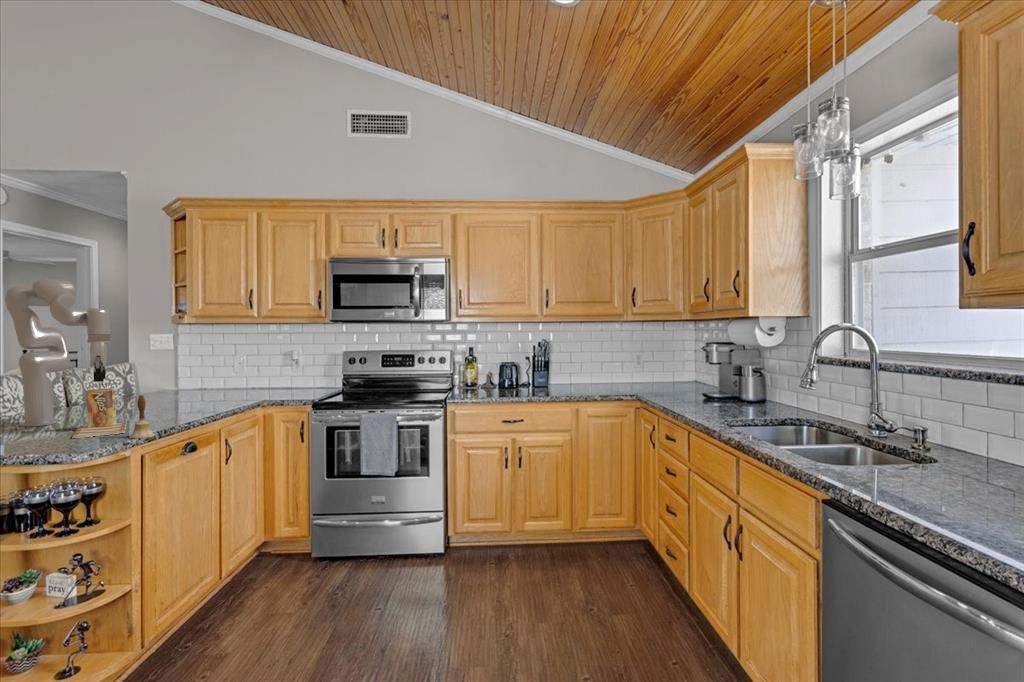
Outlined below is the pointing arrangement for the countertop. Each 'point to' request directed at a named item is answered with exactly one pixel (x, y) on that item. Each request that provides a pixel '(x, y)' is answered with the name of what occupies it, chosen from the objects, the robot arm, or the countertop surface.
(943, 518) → the countertop surface
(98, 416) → the candy box
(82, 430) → the board
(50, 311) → the robot arm
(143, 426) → the hand bell
